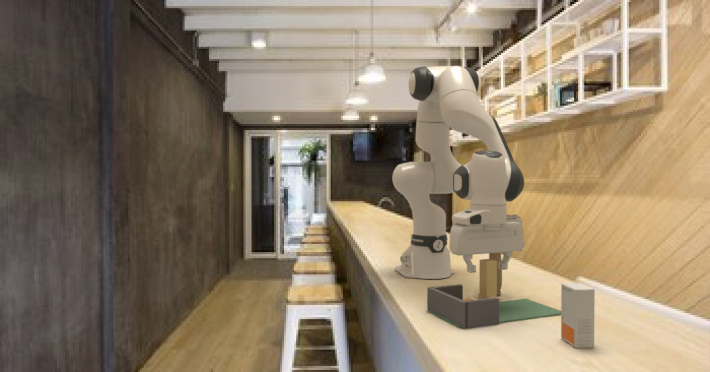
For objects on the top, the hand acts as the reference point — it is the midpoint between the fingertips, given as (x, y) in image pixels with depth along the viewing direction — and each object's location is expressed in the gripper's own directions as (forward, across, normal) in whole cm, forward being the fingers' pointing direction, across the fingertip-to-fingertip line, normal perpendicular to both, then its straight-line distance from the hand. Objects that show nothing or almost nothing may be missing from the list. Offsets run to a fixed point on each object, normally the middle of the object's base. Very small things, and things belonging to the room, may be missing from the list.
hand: (487, 270), depth 127 cm
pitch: (+11, -2, 0) cm, 11 cm away
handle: (+11, -14, -16) cm, 24 cm away
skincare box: (+11, -4, +26) cm, 28 cm away
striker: (+11, 0, 0) cm, 11 cm away
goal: (+11, +7, 0) cm, 13 cm away
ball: (+8, +6, 0) cm, 10 cm away
